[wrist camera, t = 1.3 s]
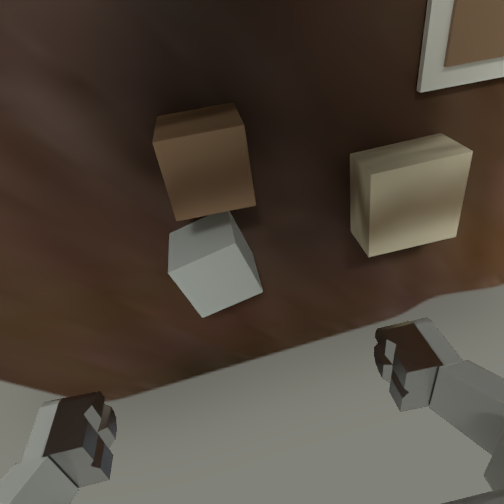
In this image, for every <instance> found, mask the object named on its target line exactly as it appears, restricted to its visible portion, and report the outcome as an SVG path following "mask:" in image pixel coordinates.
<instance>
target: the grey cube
mask: <svg viewBox="0 0 504 504" xmlns="http://www.w3.org/2000/svg"><path fill="white" fill-rule="evenodd" d="M168 274H169V275H170V276H171V278H172V279H173V280H174V282H175V283H176V284H177V285H178V287H179V288H180V289H181V291H182V292H183V293H184V295H185V296H186V297H187V298H188V300H189V301H190V302H191V304H192V305H193V306H194V308H195V309H196V310H197V311H198V313H199V314H200V315H201V317H202V318H204V317H206V316H208V315H211V314H213V313H215V312H218V311H220V310H222V309H225V308H227V307H229V306H232V305H234V304H236V303H239V302H241V301H243V300H246V299H248V298H250V297H253V296H255V295H257V294H260V293H262V292H263V289H262V286H261V282H260V278H259V275H258V271H257V268H256V264H255V261H254V257H253V253H252V251H251V250H250V248H249V246H248V244H247V242H246V240H245V239H244V237H243V235H242V233H241V231H240V229H239V227H238V226H237V224H236V222H235V220H234V218H233V216H232V215H231V213H230V211H226V212H221V213H216V214H211V215H208V216H206V217H204V218H202V219H200V220H197V221H195V222H193V223H191V224H189V225H187V226H184V227H182V228H180V229H178V230H176V231H174V232H171V233H169V257H168Z"/></svg>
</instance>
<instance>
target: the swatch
mask: <svg viewBox="0 0 504 504" xmlns="http://www.w3.org/2000/svg"><path fill="white" fill-rule="evenodd" d="M500 77H504V0H428V2H427V10H426V18H425V26H424V34H423V42H422V50H421V58H420V66H419V74H418V82H417V90H416V91H417V92H420V93H422V92H427V91H432V90H437V89H443V88H448V87H453V86H458V85H463V84H469V83H474V82H479V81H484V80H490V79H495V78H500Z"/></svg>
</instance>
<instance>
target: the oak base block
mask: <svg viewBox="0 0 504 504" xmlns="http://www.w3.org/2000/svg"><path fill="white" fill-rule="evenodd" d="M472 154H473V151H472V150H470V149H468V148H467V147H465V146H463V145H461V144H460V143H458V142H456V141H454V140H452V139H451V138H449V137H447V136H445V135H444V134H442V133H438V134H434V135H430V136H425V137H421V138H417V139H412V140H408V141H404V142H399V143H395V144H390V145H386V146H382V147H377V148H373V149H369V150H364V151H360V152H356V153H351V154H350V222H351V233H352V234H353V235H354V237H355V238H356V240H357V241H358V243H359V244H360V246H361V247H362V248H363V250H364V251H365V253H366V254H367V256H368V257H372V256H377V255H381V254H385V253H389V252H393V251H398V250H402V249H406V248H410V247H415V246H419V245H423V244H427V243H431V242H436V241H440V240H444V239H448V238H452V237H456V234H457V229H458V224H459V219H460V214H461V209H462V204H463V199H464V194H465V189H466V184H467V179H468V174H469V169H470V164H471V159H472Z"/></svg>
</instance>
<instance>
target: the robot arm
mask: <svg viewBox="0 0 504 504" xmlns="http://www.w3.org/2000/svg"><path fill="white" fill-rule="evenodd" d="M375 338H376V340H377V342H378V344H377V345H376V346H375V347H374V357H375V362H376V365H377V368H378V371H379V373H380V375H381V377H382V378H383V379H385V380H386V381H388V382H389V383H390V390H389V391H390V394H391V395H392V397H393V399H394V401H395V403H396V405H397V407H398V408H399V410H400V412H402V411H407V410H412V409H417V408H422V407H427V406H429V408H430V409H432V410H433V411H434V412H436V413H437V414H438V415H440V416H441V417H442V418H444V419H445V420H446V421H447V422H449V423H450V424H451V425H453V426H454V427H455V428H457V429H458V430H459V431H461V432H462V433H463V434H465V435H466V436H467V437H469V438H470V439H471V440H473V441H474V442H475V443H476V444H478V445H479V446H481V447H482V448H483V449H485V450H486V451H487V452H489V453H490V454H491V455H492V458H491V460H490V462H489V464H488V466H487V468H486V470H485V474H484V477H485V479H486V480H487V482H488V483H489V485H490V487H491V488H492V490H493V491H491V492H487V493H483V494H479V495H475V496H471V497H467V498H463V499H459V500H455V501H451V502H447V503H442V504H504V378H502V377H500V376H498V375H496V374H494V373H492V372H490V371H488V370H486V369H485V368H483V367H481V366H479V365H477V364H475V363H473V362H471V361H469V360H466V361H463V360H462V359H461V358H460V356H459V355H458V354H457V353H456V351H455V350H454V349H453V347H452V346H451V345H450V344H449V342H448V341H447V340H446V339H445V337H444V336H443V335H442V334H441V332H440V331H439V330H438V328H437V327H436V326H435V325H434V323H433V322H432V321H431V320H430V319H429V318H423V319H418V320H414V321H410V322H409V321H407V322H403V323H399V324H395V325H391V326H386V327H382V328H378V329H377V330H376V333H375ZM104 401H105V397H104V395H103V394H102V392H101V391H97V392H92V393H87V394H82V395H77V396H72V397H67V398H62V399H57V400H52V401H48V402H44V403H43V404H42V406H41V407H40V409H39V411H38V414H37V417H36V420H35V423H34V426H33V428H32V431H31V434H30V437H29V440H28V443H27V446H26V449H25V452H24V454H23V457H22V460H21V462H20V463H16V464H15V465H14V466H13V467H12V468H11V469H10V470H9V471H8V472H7V474H6V475H5V476H4V477H3V478H2V479H1V480H0V504H71V502H72V500H73V499H74V497H75V496H76V494H77V492H78V491H79V489H78V488H80V487H84V486H88V485H91V484H96V483H99V482H103V481H107V480H109V479H110V473H111V466H112V460H113V454H112V453H111V451H110V449H109V448H110V446H111V445H112V443H113V442H114V440H115V439H116V432H117V424H116V416H115V413H114V411H113V409H112V407H111V406H109V405H106V404H104Z"/></svg>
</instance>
